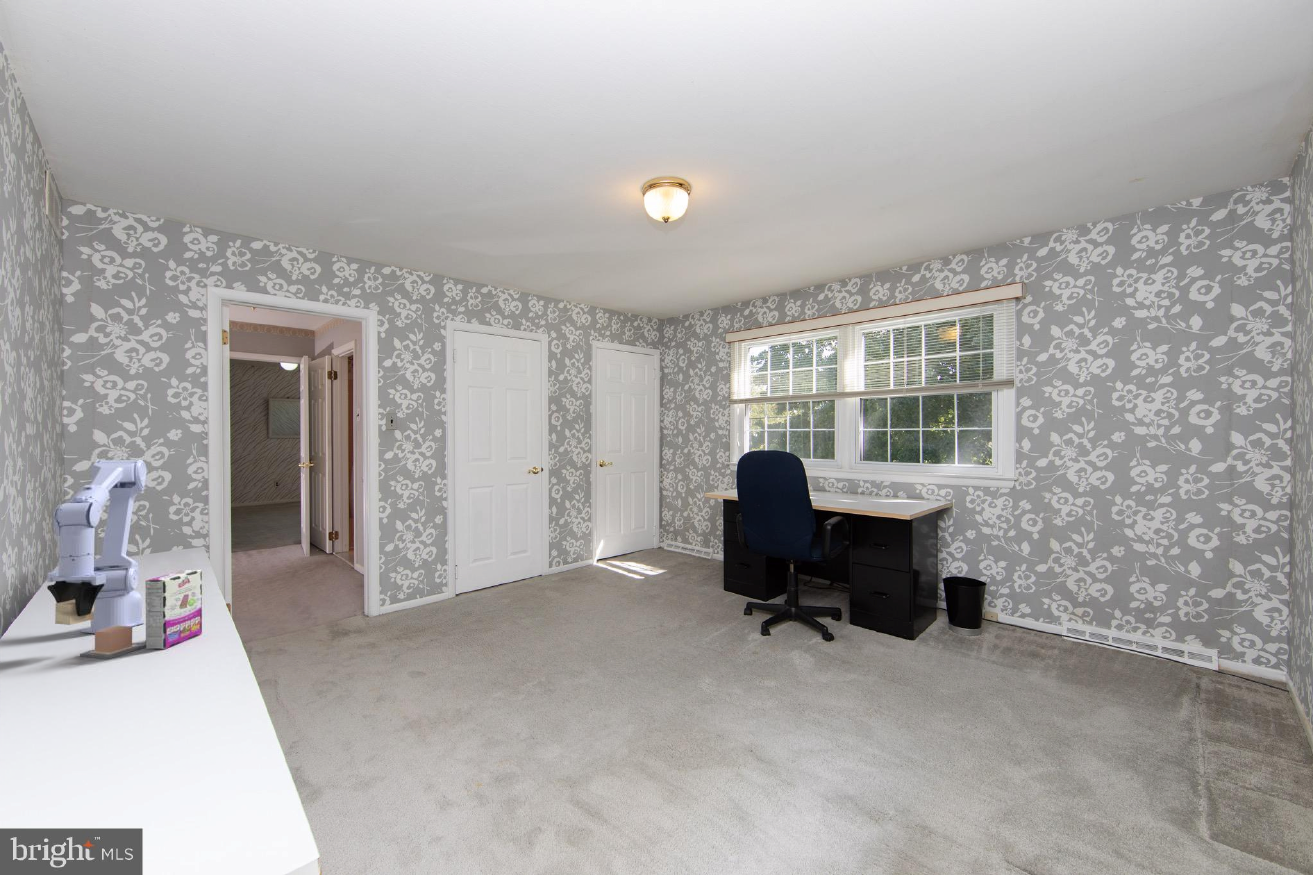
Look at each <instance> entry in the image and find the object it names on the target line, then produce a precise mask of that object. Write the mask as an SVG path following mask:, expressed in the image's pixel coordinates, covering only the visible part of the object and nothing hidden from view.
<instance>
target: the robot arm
mask: <svg viewBox="0 0 1313 875" xmlns="http://www.w3.org/2000/svg"><path fill="white" fill-rule="evenodd" d="M90 477H91V482H90V483H89V484H85V485H83V486H81V487H80V488H79V490H78V491H77V492H75V494H74V495H73V496H72V498H70V500H69V501H68V502H64V503H62V504H61V505H58V506H57V507H55V509H54V513H53V524H54V527H55V529H56V530H55V534H56V536H57V537H58V571H54V572H48V573H46V575H47V576H46V582H48V583H52V582H54V584H49V585H47V590H48V592H50V594H51V595H52V596H53V598H54V599H55V600H54V601H55V602H56V603H61V602H66V601H70V600H75V602H76V612H77V615H78V616H84V615H88V614H90V613H91V611H92V608H93V605H94V619H92V620H90V627H88V628H85V629H81V630H80V632H81V633H86V634H87V633H89V634H95V631H99V630H102V629H106V628H109V627H113V626H117V625H118V626H131V627H132V628H133V627H135V626H138V625H143V624H145V621H143V598H142V595H141V594H140V592H139V591H138V590H135V589H137V586H138V583H139V579H140V578H139V577H140V575H139V574H140V573H139V564H138V562H137V561H135V560H134V559H133V558H130V557H129V556H127V550H128V543H129V537H130V529H131V523H132V515H133V511H134V504H135V499H136V496H137V495H138V494H141V493H142V492H143V491H144V489H145V487H146V486H145V485H146V480H147V465H146V462H145V461H143V460H142V459H121V460H120V459H113V460H111V459H108V460H107V459H106V460H104V459H96V460H95V461H93V463H92V464H91V468H90ZM108 500H109V504H108V509H107V510H108V511H107V517H106V523H105V530H104V536H103V542H102V550H101V555H100V556H99V557H98V558H96V559H95V537H96V536H95V535H96V533H95V532H96V531H95V530H96V527H97V526H98V524H99V523H100V519H101V515H102V513H103V511H102V509H103V507H104V506H105V505H106V503H107V501H108ZM56 603H55V604H56Z"/></svg>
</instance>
